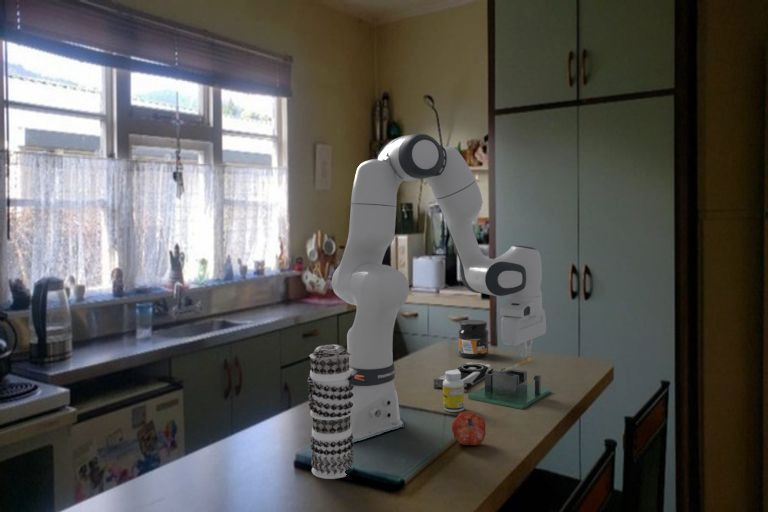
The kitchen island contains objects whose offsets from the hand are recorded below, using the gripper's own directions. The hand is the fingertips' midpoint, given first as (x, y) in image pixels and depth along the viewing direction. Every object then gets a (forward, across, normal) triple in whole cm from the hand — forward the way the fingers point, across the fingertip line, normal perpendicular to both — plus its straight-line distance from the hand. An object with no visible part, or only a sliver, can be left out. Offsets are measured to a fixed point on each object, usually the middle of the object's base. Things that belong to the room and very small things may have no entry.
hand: (525, 356), depth 168 cm
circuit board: (+12, 0, -4) cm, 12 cm away
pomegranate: (+12, +37, +4) cm, 39 cm away
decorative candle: (+12, +65, -11) cm, 67 cm away
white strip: (+5, 0, -4) cm, 6 cm away
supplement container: (+12, -35, -36) cm, 52 cm away
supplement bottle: (+12, +19, -11) cm, 25 cm away
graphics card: (+12, -7, -22) cm, 26 cm away
